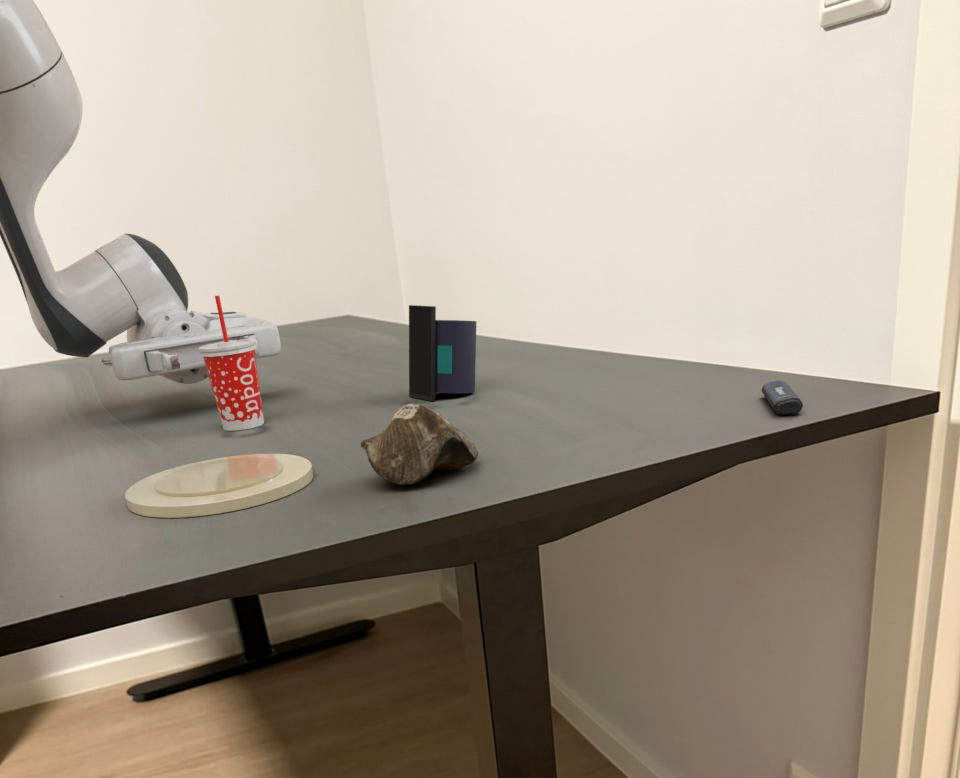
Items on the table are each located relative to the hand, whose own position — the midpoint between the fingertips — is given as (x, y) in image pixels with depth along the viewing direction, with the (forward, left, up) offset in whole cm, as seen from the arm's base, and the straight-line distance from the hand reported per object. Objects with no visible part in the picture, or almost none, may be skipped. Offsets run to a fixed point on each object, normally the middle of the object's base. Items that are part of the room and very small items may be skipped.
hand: (213, 355), depth 110 cm
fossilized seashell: (+26, -34, -8) cm, 44 cm away
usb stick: (+59, -21, -8) cm, 63 cm away
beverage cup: (+3, -5, -8) cm, 10 cm away
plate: (+8, -32, -7) cm, 34 cm away
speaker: (+26, +2, -8) cm, 27 cm away
